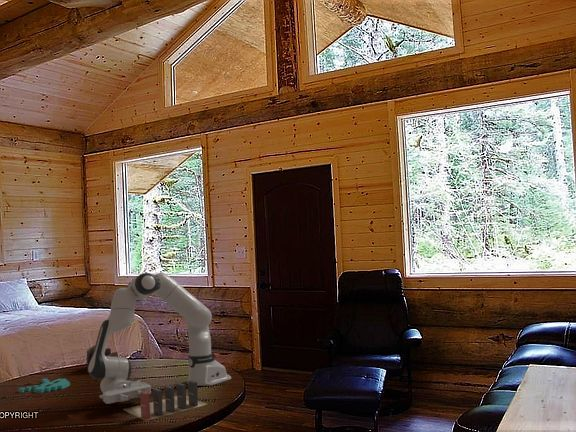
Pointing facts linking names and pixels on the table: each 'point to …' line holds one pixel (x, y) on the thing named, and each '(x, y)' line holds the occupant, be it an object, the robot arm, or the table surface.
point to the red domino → (145, 405)
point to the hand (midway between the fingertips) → (134, 396)
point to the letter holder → (107, 353)
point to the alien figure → (47, 386)
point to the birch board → (137, 409)
